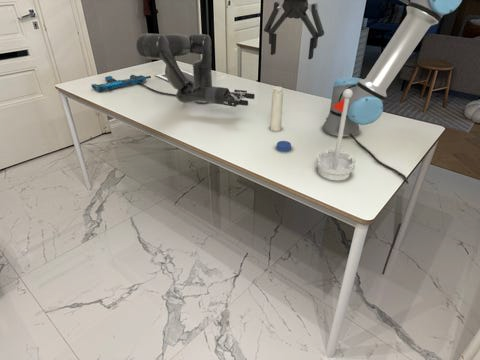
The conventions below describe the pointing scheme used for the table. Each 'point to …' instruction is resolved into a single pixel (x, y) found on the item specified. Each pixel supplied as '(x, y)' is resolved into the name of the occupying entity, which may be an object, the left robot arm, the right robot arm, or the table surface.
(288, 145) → the lid
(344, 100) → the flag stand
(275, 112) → the tube
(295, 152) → the table surface
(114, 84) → the submachine gun
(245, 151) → the table surface
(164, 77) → the tablet
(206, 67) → the left robot arm
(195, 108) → the table surface
